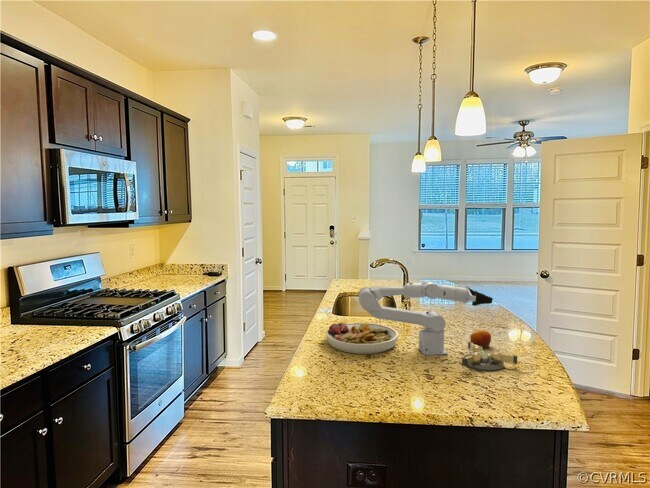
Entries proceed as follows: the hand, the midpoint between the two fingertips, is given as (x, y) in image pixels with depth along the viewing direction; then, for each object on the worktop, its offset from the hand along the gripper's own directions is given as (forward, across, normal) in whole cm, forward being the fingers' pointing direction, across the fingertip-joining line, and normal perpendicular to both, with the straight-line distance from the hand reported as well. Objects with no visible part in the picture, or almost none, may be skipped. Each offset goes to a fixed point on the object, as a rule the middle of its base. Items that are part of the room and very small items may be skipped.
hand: (488, 299), depth 162 cm
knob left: (-8, -16, +22) cm, 28 cm away
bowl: (-45, +11, +29) cm, 54 cm away
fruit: (+3, +8, +21) cm, 23 cm away
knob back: (-3, -4, +21) cm, 22 cm away
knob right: (+4, -14, +20) cm, 25 cm away
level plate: (-2, -11, +23) cm, 25 cm away
